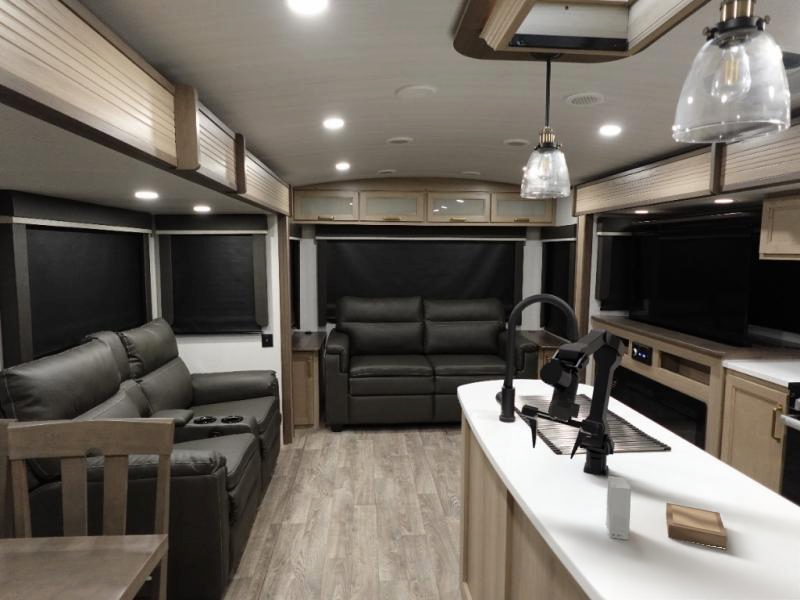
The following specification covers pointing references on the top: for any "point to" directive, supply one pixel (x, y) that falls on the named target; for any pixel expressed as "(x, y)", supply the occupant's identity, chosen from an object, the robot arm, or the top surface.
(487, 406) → the top surface
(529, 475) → the top surface
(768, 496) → the top surface
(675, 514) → the walnut tray
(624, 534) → the skincare box
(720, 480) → the top surface
